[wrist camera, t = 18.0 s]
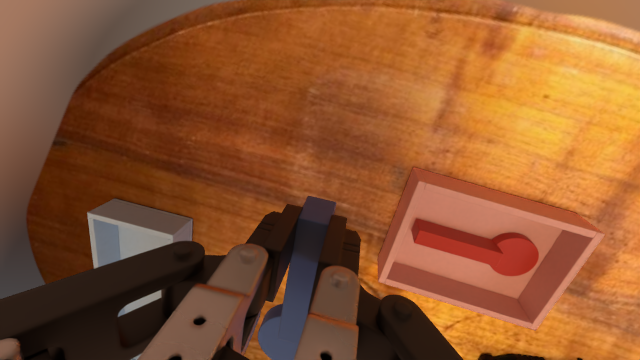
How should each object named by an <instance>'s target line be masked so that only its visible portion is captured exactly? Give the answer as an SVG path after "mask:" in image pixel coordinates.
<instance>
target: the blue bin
mask: <svg viewBox="0 0 640 360" xmlns="http://www.w3.org/2000/svg"><path fill="white" fill-rule="evenodd" d="M87 215H88V223H89V232H90V240H91V248H92V256H93V265H94V268H97V267H100V266H103V265H106V264H110V263H113V262H116V261H119V260H122V259H125V258H128V257H131V256H134V255H137V254H140V253H143V252H146V251H149V250H152V249H155V248H158V247H161V246H164V245H167V244H171V243H174V242H178V241H192V222H193V219H192V218H188V217H184V216H180V215H176V214H173V213H169V212H165V211H161V210H157V209H153V208H150V207H146V206H142V205H138V204H134V203H130V202H127V201H123V200H119V199H113V200H111V201H109V202H107V203H105V204H103V205H101V206H99V207H97V208H95V209H93V210H91V211H89V212H88V213H87ZM159 298H161V290H160V291H157V292H155V293H153V294H150V295H148V296H146V297H143V298H141V299H139V300H136V301H134V302H132V303H130V304H128V305H126V306H125V307H124V308H123V309H122V310H121V311H120V312H119V314H118V317H119V316H121V315H123V314H126V313H128V312H130V311H132V310H135V309H137V308H139V307H141V306H144V305H146V304H148V303H150V302H152V301H155V300H157V299H159ZM141 354H142V353H141ZM141 354H140V355H141ZM140 355H138V356H136V357H134V358H132V359H131V360H137V359H138V358H139V357H140Z"/></svg>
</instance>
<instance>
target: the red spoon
mask: <svg viewBox="0 0 640 360" xmlns="http://www.w3.org/2000/svg"><path fill="white" fill-rule="evenodd" d="M411 232H412V236H413V240H414V243H416V244H419V245H423V246H426V247H430V248H433V249H436V250H440V251H443V252H447V253H450V254H454V255H457V256H461V257H464V258H468V259H471V260H475V261H478V262H481V263H485V264H488V265H490V266H491V268H492V269H493V270H494V271H495V272H497V273H499V274H501V275H504V276H519V275H522V274H525V273H527V272H529V271H530V270H531V269H533V268H534V266H535V265H536V264H537V262H538V258H539V252H538V249H537V247H536V246H535V245H534V243H533V242H532V241H531V240H530V239H529V238H528V237H526V236H525V235H522V234H520V233H514V232H509V233H503V234H500V235H498V236H496V237H494V238H493V239H492V240H491V239H488V238H484V237H481V236H477V235H474V234H470V233H467V232H463V231H459V230H456V229H452V228H449V227H445V226H442V225H438V224H435V223H431V222H428V221H424V220H421V219H417V218H416V220H415V222H414V225H413V227H412V230H411Z"/></svg>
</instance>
